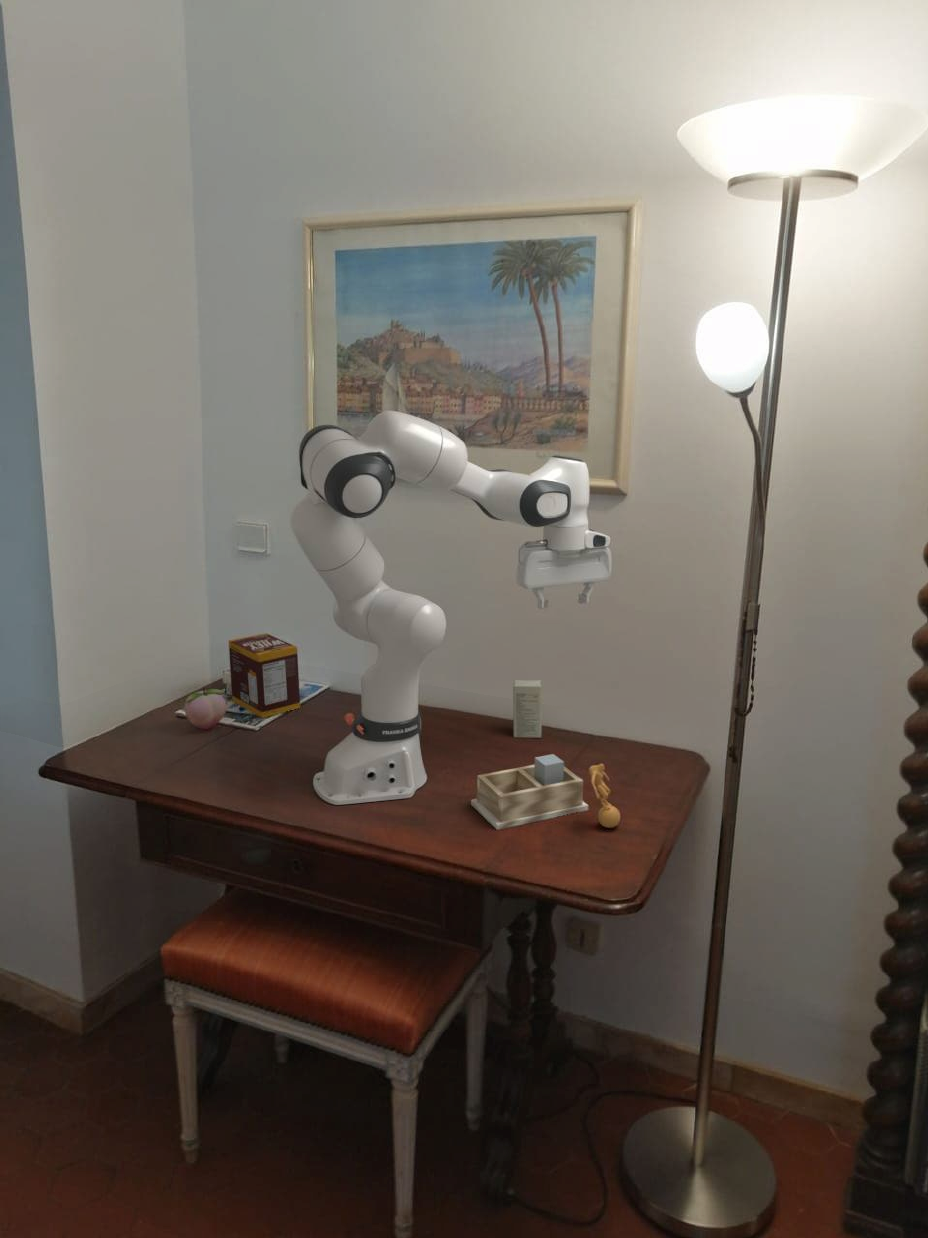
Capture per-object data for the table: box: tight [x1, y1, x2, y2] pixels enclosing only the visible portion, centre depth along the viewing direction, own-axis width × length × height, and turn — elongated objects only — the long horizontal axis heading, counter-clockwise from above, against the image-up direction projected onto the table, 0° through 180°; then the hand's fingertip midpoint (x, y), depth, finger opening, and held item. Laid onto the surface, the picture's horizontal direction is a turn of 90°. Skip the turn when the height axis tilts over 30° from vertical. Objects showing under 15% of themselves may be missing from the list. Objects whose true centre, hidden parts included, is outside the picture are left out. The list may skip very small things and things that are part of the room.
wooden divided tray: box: [470, 764, 589, 831], centre depth 182 cm, size 19×11×6 cm, turn 114°
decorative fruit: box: [184, 687, 228, 730], centre depth 218 cm, size 9×8×10 cm
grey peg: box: [534, 753, 565, 786], centre depth 183 cm, size 4×4×8 cm
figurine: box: [588, 763, 621, 829], centre depth 175 cm, size 8×6×12 cm
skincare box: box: [512, 679, 543, 739], centre depth 216 cm, size 6×4×12 cm
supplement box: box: [228, 632, 301, 719], centre depth 233 cm, size 10×15×16 cm
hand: (563, 605), depth 196 cm, fingers open, 8 cm apart
